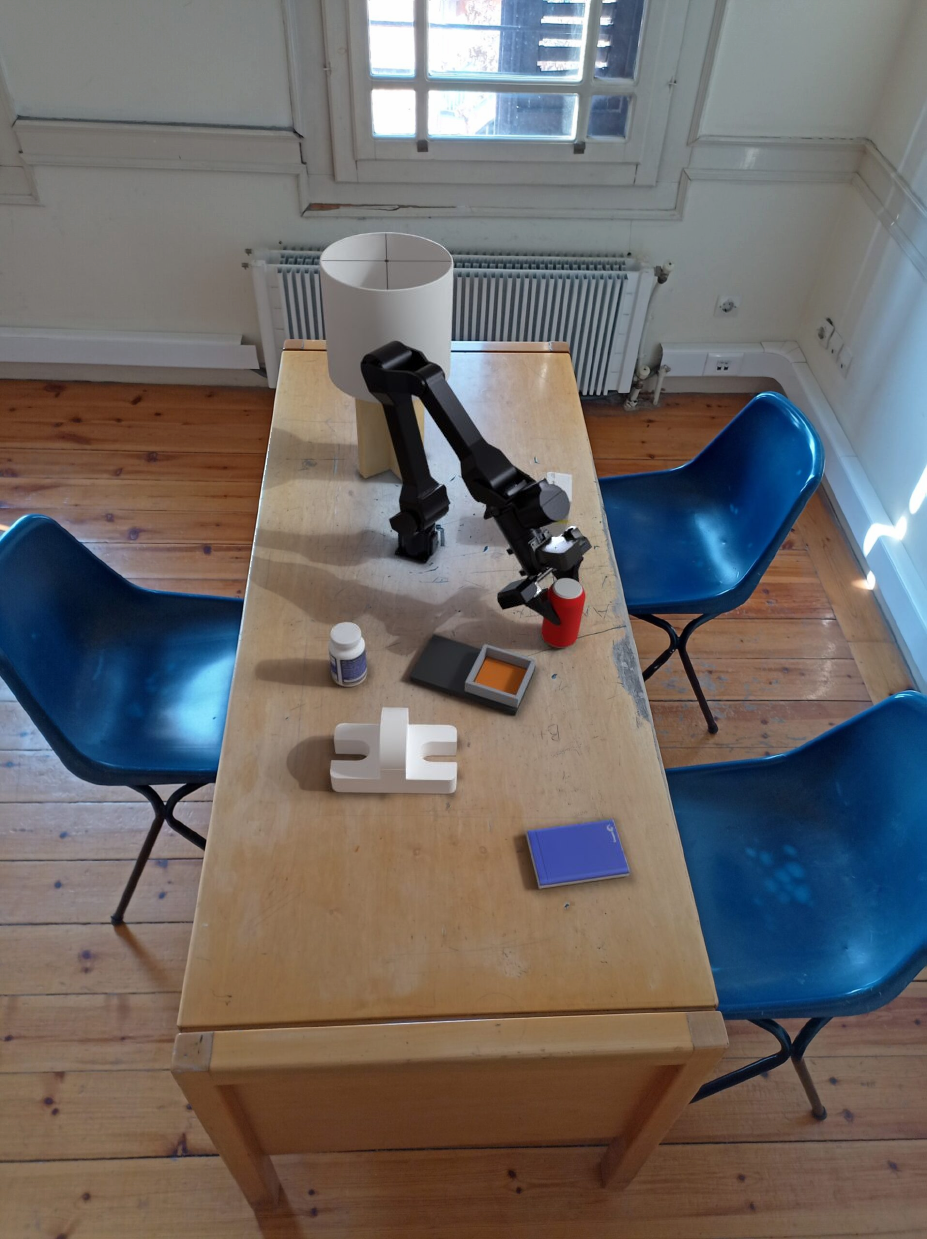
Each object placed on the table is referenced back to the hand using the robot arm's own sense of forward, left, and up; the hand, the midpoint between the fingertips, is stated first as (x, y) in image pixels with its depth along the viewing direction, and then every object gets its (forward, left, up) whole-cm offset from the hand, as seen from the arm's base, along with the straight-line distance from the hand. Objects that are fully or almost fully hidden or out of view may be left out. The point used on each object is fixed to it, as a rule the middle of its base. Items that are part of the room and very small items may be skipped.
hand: (570, 615), depth 140 cm
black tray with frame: (-12, -13, -7) cm, 19 cm away
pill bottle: (-30, -20, -7) cm, 37 cm away
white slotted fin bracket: (-16, -33, -7) cm, 38 cm away
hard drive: (+13, -37, -7) cm, 40 cm away
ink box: (-10, +26, -7) cm, 28 cm away
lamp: (-47, +34, -7) cm, 58 cm away
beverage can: (-1, +1, -7) cm, 7 cm away
